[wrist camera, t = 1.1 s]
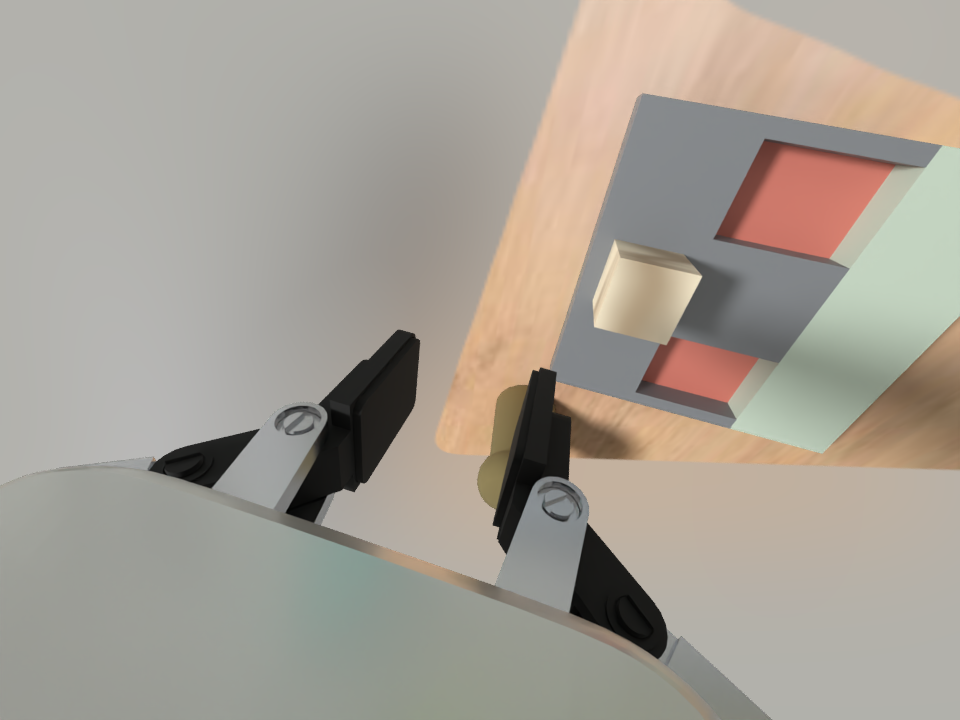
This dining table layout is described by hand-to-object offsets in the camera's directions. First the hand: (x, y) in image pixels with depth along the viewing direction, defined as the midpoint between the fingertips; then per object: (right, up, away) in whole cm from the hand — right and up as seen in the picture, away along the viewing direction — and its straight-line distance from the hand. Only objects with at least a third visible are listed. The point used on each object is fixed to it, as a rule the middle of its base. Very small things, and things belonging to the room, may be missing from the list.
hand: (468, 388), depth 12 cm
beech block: (+11, +7, +13) cm, 18 cm away
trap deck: (+19, +6, +14) cm, 24 cm away
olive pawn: (+5, -4, +25) cm, 25 cm away
